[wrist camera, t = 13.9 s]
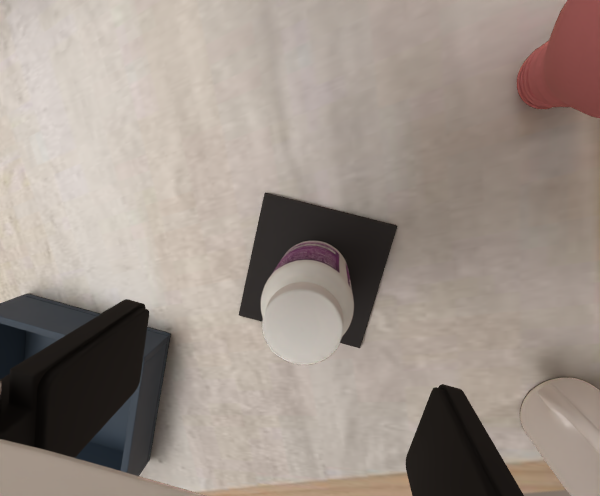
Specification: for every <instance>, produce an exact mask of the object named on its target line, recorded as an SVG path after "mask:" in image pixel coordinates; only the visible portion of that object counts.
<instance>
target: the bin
mask: <svg viewBox="0 0 600 496" xmlns="http://www.w3.org/2000/svg"><path fill="white" fill-rule="evenodd" d="M99 315H100V314H99V313H96V312H92V311H89V310H85V309H81V308H78V307H74V306H71V305H67V304H63V303H60V302H56V301H53V300H49V299H46V298H42V297H38V296H35V295H31V294H25V295H23V296H19V297H16V298H14V299H11V300H8V301H5V302H3V303H0V379H2V378H4V377H5V376H7V375H8V374H10V369H11V368H13V367H15V366H16V365H18V364H19V363H21V362H23V361H24V360H26V359H28V358H29V357H31V356H33V355H34V354H36V353H38V352H39V351H41V350H43V349H44V348H46V347H47V346H49V345H51V344H52V343H54V342H56V341H57V340H59V339H61V338H62V337H64V336H66V335H67V334H69V333H71V332H72V331H74V330H75V329H77V328H79V327H80V326H82V325H84V324H85V323H87V322H89V321H90V320H92V319H94V318H95V317H97V316H99ZM170 335H171V333H167V332H164V331H160V330H157V329H153V328H149V327H147V333H146V341H145V348H144V355H143V363H142V370H141V378H140V383H139V385H138V387H137V389H136V391H135V392H134V393H133V395H132V396H131V397H130V398H129V399H128V400H127V401H126V402H125V403H124V404H123V406H122V407H121V408H120V409H119V410H118V411H117V412H116V413H115V414H114V415H113V417H112V418H111V419H110V420H109V421H108V422H107V423H106V424H105V425H104V426H103V427H102V429H101V430H100V431H99V432H98V433H97V434H96V435H95V436H94V437H93V438H92V440H91V441H90V442H89V443H88V444H87V445H86V446H85V447H84V448H83V449H82V451H81V452H80V453H79V454H78V455H77V456H76V457H75V458H76V459H80V460H84V461H87V462H91V463H94V464H98V465H101V466H105V467H108V468H112V469H115V470H119V471H122V472H126V473H129V474H133V475H136V476H139V475H140V474H141V472H142V471H143V469H144V468H145V466H146V465H147V463H148V462H149V460H150V455H151V449H152V443H153V437H154V431H155V425H156V419H157V413H158V407H159V401H160V395H161V389H162V383H163V377H164V371H165V365H166V359H167V353H168V347H169V341H170Z"/></svg>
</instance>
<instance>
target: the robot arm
mask: <svg viewBox="0 0 600 496" xmlns="http://www.w3.org/2000/svg"><path fill="white" fill-rule="evenodd" d="M148 318H149V311H148V310H147V309H145V305H144V304H142V303H139V302H135V301H131V300H127V299H126V300H123V301H122V302H120V303H118V304H117V305H115V306H113V307H112V308H110V309H108V310H107V311H105V312H103V313H102V314H100V315H99V316H97V317H95V318H94V319H92V320H90V321H89V322H87V323H85V324H84V325H82V326H80V327H79V328H77V329H75V330H74V331H72V332H71V333H69V334H67V335H66V336H64V337H62V338H61V339H59V340H57V341H56V342H54V343H52V344H51V345H49V346H47V347H46V348H44V349H43V350H41V351H39V352H38V353H36V354H34V355H33V356H31V357H29V358H28V359H26V360H24V361H23V362H21V363H19V364H18V365H16V366H15V367H13V368H11V369H10V374H8V375H7V376H5V377H4V378H2V379H0V496H205V495H202V494H199V493H195V492H192V491H188V490H185V489H181V488H178V487H174V486H171V485H168V484H164V483H161V482H157V481H154V480H150V479H147V478H143V477H140V476H136V475H133V474H129V473H126V472H122V471H119V470H115V469H112V468H108V467H105V466H101V465H98V464H94V463H91V462H87V461H84V460H80V459H76V458H75V457H76V456H77V455H78V454H79V453H80V452H81V451H82V449H83V448H84V447H85V446H86V445H87V444H88V443H89V442H90V441H91V440H92V438H93V437H94V436H95V435H96V434H97V433H98V432H99V431H100V430H101V429H102V427H103V426H104V425H105V424H106V423H107V422H108V421H109V420H110V419H111V418H112V417H113V415H114V414H115V413H116V412H117V411H118V410H119V409H120V408H121V407H122V406H123V404H124V403H125V402H126V401H127V400H128V399H129V398H130V397H131V396H132V395H133V393H134V392H135V391H136V389H137V387H138V385H139V383H140V378H141V370H142V363H143V355H144V348H145V341H146V333H147V326H148ZM406 470H407V474H408V479H409V483H410V487H411V491H412V495H413V496H524V495H523V493H522V492H521V490H520V488H519V487H518V485H517V483H516V481H515V480H514V478H513V476H512V475H511V473H510V471H509V469H508V468H507V466H506V464H505V463H504V461H503V459H502V457H501V456H500V454H499V452H498V451H497V449H496V447H495V445H494V444H493V442H492V440H491V439H490V437H489V435H488V433H487V432H486V430H485V428H484V427H483V425H482V423H481V421H480V420H479V418H478V416H477V415H476V413H475V411H474V409H473V408H472V406H471V404H470V403H469V401H468V399H467V397H466V396H465V394H464V392H463V391H462V390H461V389H458V388H454V387H451V386H447V385H443V384H442V385H440V386H439V388H436V387H435V388H433V390H432V392H431V394H430V397H429V400H428V402H427V405H426V407H425V410H424V413H423V415H422V418H421V420H420V423H419V425H418V428H417V431H416V433H415V436H414V438H413V441H412V444H411V446H410V449H409V451H408V454H407V457H406Z"/></svg>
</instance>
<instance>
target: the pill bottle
mask: <svg viewBox="0 0 600 496" xmlns="http://www.w3.org/2000/svg"><path fill="white" fill-rule="evenodd" d="M353 311H354V300H353V293H352V287H351V281H350V276H349V271H348V267H347V264H346V261H345V259H344V257H343V256H342V255H341V253H340V252H339V251H338V250H337V249H336V248H334V247H333V246H331V245H329V244H327V243H325V242H321V241H305V242H301V243H299V244H297V245H295V246H293V247H292V248H291V249H289V250H288V251H287V253H286V254H285V255H284V256H283V258H282V259H281V261H280V262H279V264H278V265H277V267H276V268H275V270H274V271H273V273H272V274H271V276H270V277H269V279H268V280H267V282H266V284H265V286H264V289H263V292H262V296H261V313H262V317H263V320H262V331H263V335H264V338H265V341H266V343H267V344H268V346H269V348H270V349H271V350H272V351H273V352H274V353H275V354H276V355H277V356H278V357H280V358H281V359H283V360H285V361H287V362H290V363H293V364H297V365H311V364H315V363H318V362H321V361H323V360H325V359H327V358H328V357H329V356H331V355H332V354H333V353H334V352H335V350H336V349H337V347H338V346H339V344H340V341H341V339H342V336H343V335H344V334H345V332H346V331H347V329H348V328H349V326H350V323H351V321H352V317H353Z"/></svg>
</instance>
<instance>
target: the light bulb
mask: <svg viewBox="0 0 600 496" xmlns="http://www.w3.org/2000/svg"><path fill="white" fill-rule="evenodd" d="M517 89H518V93H519V95H520V97H521V99H522V100H523V101H524V102H525V103H526V104H527V105H529V106H531V107H533V108H537V109H549V108H552V107H572V108H574V109H576V110H578V111H581V112H583V113H585V114H587V115H590V116H592V117H596V118H600V0H567V2H566V4H565V5H564V7H563V8H562V10H561V12H560V14H559V16H558V19H557V21H556V23H555V26H554V29H553V31H552V34H551V37H550V39H549V41H547V42H546V43H545V44H543V45H542V46H541V47H539V48H537V49H536V50H535V51H534V52H533V53H532V54H531V55H530V56H529V57H528V58H527V59H526V60H525V62H524V63H523V65H522V66H521V68H520V71H519V73H518V77H517Z"/></svg>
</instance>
